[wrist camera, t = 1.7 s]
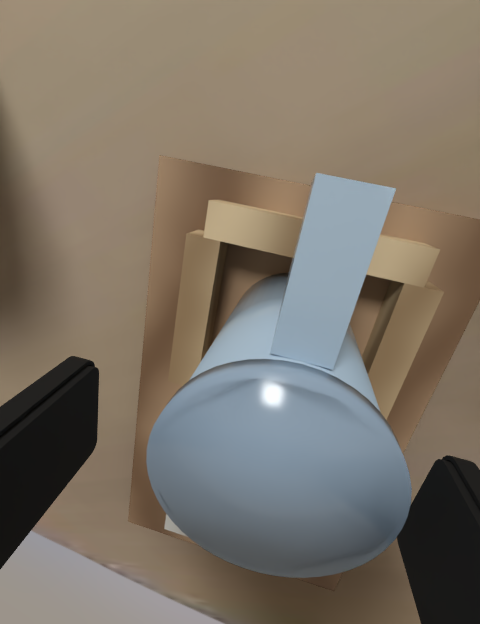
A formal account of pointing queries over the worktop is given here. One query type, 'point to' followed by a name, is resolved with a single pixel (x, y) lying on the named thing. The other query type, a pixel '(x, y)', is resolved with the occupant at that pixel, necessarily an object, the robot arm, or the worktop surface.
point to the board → (259, 264)
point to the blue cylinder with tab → (290, 413)
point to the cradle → (282, 240)
